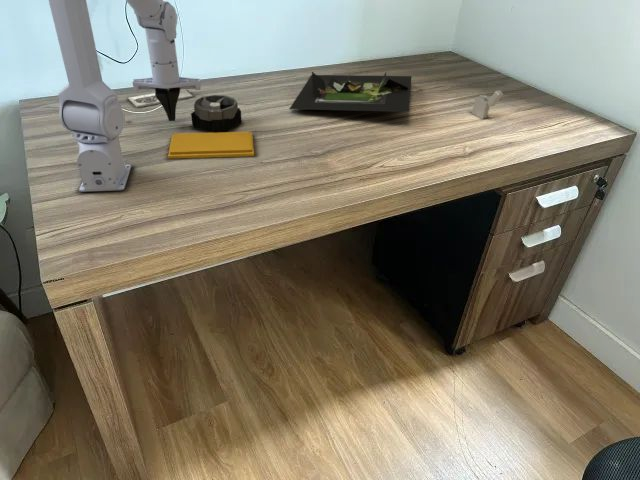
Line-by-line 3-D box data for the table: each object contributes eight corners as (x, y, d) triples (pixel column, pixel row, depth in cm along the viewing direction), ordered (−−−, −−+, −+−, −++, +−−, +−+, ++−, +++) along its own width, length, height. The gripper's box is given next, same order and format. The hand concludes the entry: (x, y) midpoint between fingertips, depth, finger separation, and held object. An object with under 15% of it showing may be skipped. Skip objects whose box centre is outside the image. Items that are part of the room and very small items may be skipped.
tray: (254, 156, 106) (254, 150, 105) (168, 159, 103) (167, 153, 102) (252, 136, 114) (251, 131, 113) (172, 138, 111) (171, 133, 110)
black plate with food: (412, 60, 141) (409, 93, 117) (410, 87, 145) (407, 124, 121) (310, 59, 146) (287, 91, 122) (312, 85, 150) (290, 121, 126)
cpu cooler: (210, 91, 120) (245, 99, 117) (212, 113, 123) (246, 121, 120) (183, 104, 112) (221, 113, 109) (186, 128, 116) (222, 137, 113)
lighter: (471, 113, 131) (478, 83, 126) (475, 112, 132) (483, 82, 127) (491, 122, 126) (499, 92, 122) (495, 121, 127) (504, 91, 122)
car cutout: (182, 89, 136) (180, 73, 133) (192, 97, 132) (190, 80, 129) (128, 99, 128) (125, 82, 126) (137, 107, 124) (134, 90, 122)
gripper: (198, 54, 111) (204, 112, 119) (131, 54, 109) (142, 113, 117) (197, 64, 106) (203, 123, 114) (126, 64, 103) (138, 125, 111)
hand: (172, 119), depth 115 cm, fingers closed
